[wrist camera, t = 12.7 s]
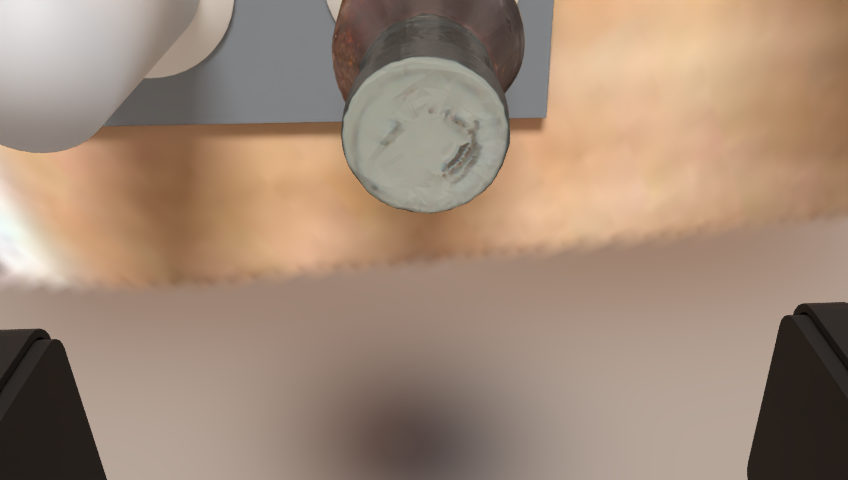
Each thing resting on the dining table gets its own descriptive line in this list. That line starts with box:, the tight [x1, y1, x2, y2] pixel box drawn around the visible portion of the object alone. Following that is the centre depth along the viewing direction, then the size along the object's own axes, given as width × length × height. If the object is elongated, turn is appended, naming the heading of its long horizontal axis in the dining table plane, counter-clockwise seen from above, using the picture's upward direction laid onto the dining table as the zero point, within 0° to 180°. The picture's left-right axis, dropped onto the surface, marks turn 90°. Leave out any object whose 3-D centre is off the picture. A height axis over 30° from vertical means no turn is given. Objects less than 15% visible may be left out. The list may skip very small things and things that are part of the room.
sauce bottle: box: [332, 0, 525, 213], centre depth 28 cm, size 6×6×20 cm
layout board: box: [0, 0, 554, 153], centre depth 32 cm, size 25×14×13 cm, turn 91°
